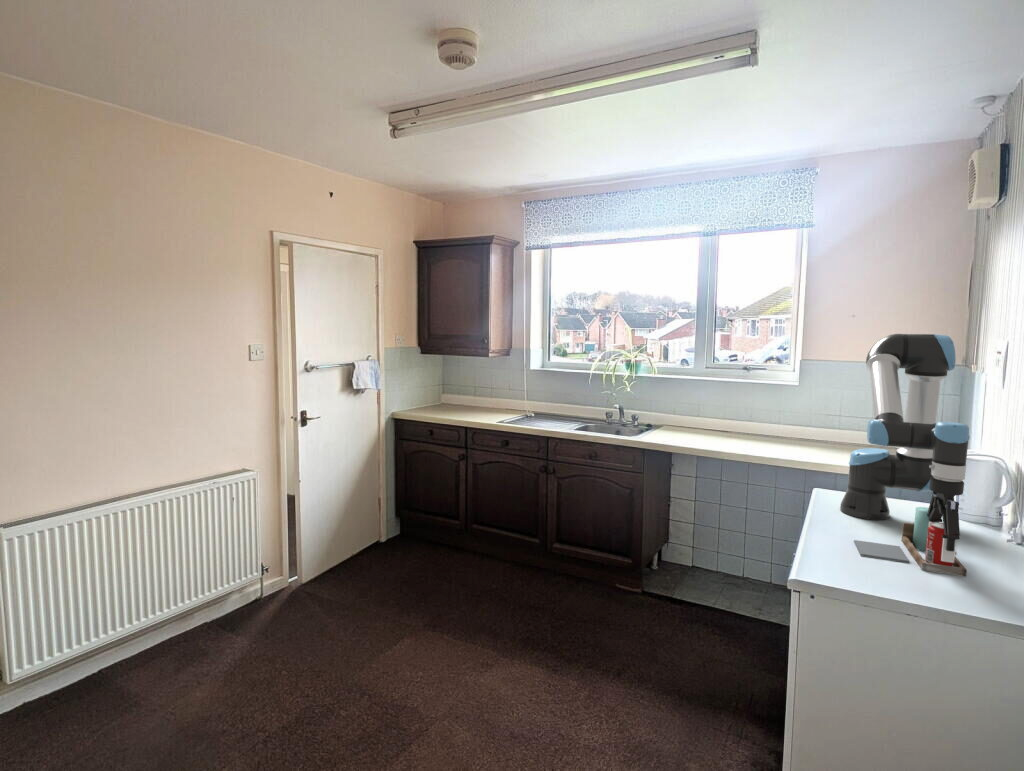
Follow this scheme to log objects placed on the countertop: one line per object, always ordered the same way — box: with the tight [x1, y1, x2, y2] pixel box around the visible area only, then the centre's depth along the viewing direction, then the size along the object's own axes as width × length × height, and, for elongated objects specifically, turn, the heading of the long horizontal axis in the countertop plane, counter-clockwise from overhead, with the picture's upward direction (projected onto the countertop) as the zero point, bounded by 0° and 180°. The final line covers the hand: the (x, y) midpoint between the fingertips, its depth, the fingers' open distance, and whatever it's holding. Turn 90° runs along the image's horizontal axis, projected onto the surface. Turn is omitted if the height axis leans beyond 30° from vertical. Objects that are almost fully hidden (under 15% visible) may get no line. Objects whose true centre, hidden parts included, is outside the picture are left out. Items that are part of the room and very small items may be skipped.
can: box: [912, 506, 930, 553], centre depth 174 cm, size 6×6×12 cm
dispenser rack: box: [901, 522, 968, 577], centre depth 167 cm, size 24×10×6 cm, turn 157°
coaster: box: [853, 539, 910, 564], centre depth 171 cm, size 12×12×1 cm
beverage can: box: [924, 522, 954, 567], centre depth 161 cm, size 6×6×12 cm
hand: (939, 552), depth 161 cm, fingers open, 13 cm apart
